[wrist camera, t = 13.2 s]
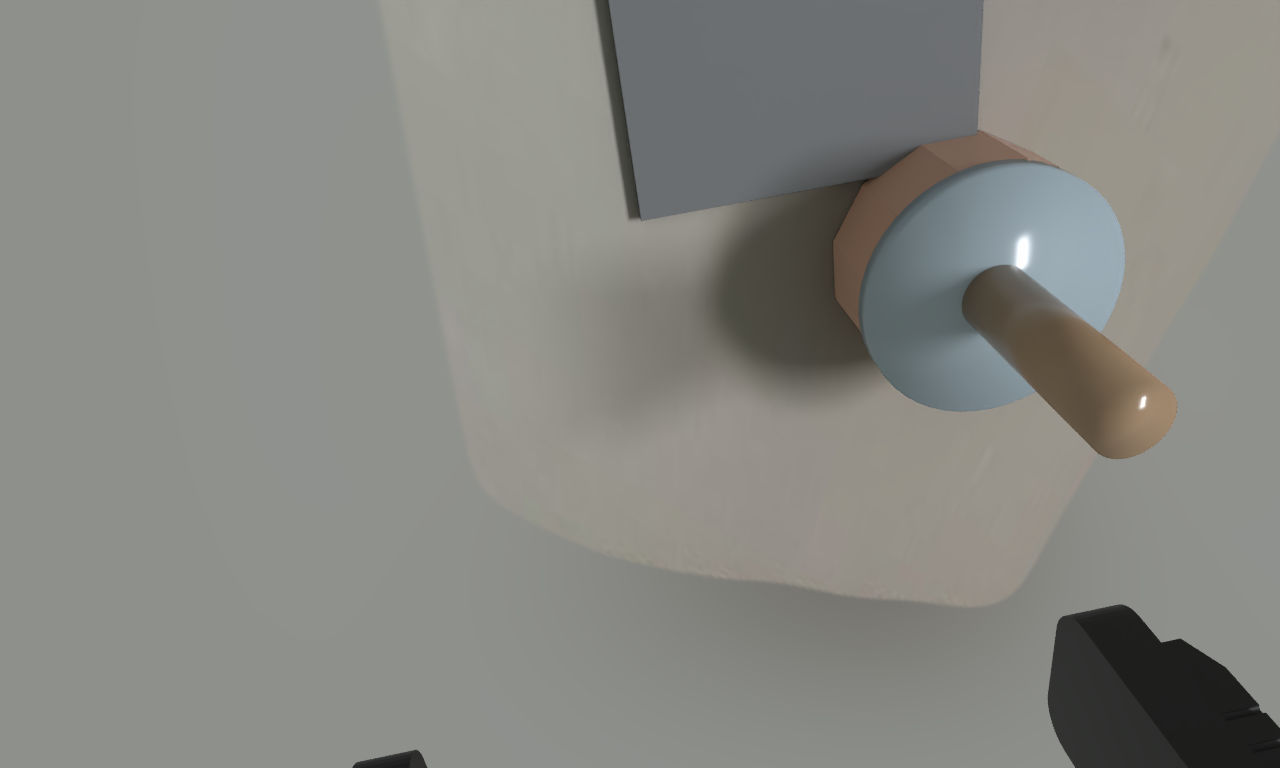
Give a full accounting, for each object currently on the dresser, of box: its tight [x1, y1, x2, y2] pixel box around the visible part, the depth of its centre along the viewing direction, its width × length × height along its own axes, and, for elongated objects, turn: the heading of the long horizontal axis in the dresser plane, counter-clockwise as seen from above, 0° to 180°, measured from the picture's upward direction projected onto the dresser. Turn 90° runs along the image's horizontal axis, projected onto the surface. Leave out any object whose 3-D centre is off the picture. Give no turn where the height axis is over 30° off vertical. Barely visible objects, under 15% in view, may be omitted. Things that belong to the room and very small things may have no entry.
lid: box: [858, 159, 1177, 459], centre depth 33 cm, size 10×10×10 cm
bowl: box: [833, 131, 1058, 332], centre depth 39 cm, size 10×10×4 cm
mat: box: [608, 0, 984, 221], centre depth 34 cm, size 14×14×1 cm
